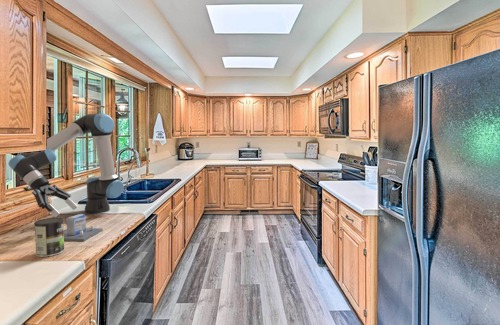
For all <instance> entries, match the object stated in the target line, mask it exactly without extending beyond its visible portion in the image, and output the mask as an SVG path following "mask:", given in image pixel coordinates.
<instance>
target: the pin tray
mask: <svg viewBox="0 0 500 325" xmlns="http://www.w3.org/2000/svg"><path fill="white" fill-rule="evenodd" d="M63 231H64V242H66V241H67V242H86V241H87V240H89V239H91V238H92V237H93V238H94V237H95V236H96V235H98V234H100V233H101V232H103V231H104V229H103V228H98V227H97V228H95V227H94V225H90V227H86V231H84V232H83V231H80V233H79V234H77V235H67V228H66V229H65V230H64V229H63Z"/></svg>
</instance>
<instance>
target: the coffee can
mask: <svg viewBox="0 0 500 325" xmlns="http://www.w3.org/2000/svg"><path fill="white" fill-rule="evenodd" d="M33 223H34V224H33V225H34V236H35V237H34V238H35V239H34V240H35V255H36V257H39V258H49V257H54V256H58V255H60V254H62V253H64V252H63V251H65V241H64V218H63V217H47V218H41V219H38V220H35V221H34V222H33ZM57 254H58V255H57ZM53 255H54V256H53ZM48 256H49V257H48Z"/></svg>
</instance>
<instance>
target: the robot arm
mask: <svg viewBox="0 0 500 325" xmlns="http://www.w3.org/2000/svg"><path fill="white" fill-rule="evenodd" d="M114 128H115V122H114V119H113V118H112V117H111V116H110V115H108V114H106V113H90V114H88V113H87V114H86V115H83V116H81V117H79V118H77V119H76V120H74V121H72V122H70V124H69V126H67V127H66V128H64V129H62V130H60V131H59V132H57V133H55V134H54V135H52V136H50V137H48V138H46V140H47V149H46V150H45V151H41V152H31V153H20V152H19V153H20V154H19V153H18V154H17V155H15V156H13V157H12V158H11V159H9V161H8V167H10V169H11V170H12V171H13V172H14V173H15V174H16V175H18V177H19V178H21V180H23V181H24V182H25V183H26V184H27V186H29V188H30V189H32V191H31V193H32V195H33V196H34V198H35V200H36V203H37V206H38V207H39V208H41V209H45V210H47V211H48V212H49V213H50V214H51V215H52V216H53V218H58V216H59V215H60V214H61V212H59V211H58V209H56V208H55V207H54V205H52V204H51V203H49V197H56V198H59V199H61V200H64V202H65V204H67V205H68V207H70V209H72V210H73V211H75V210H76V209H77V208H78V207H79V206H78V205H77V203H75V202H74V201H73V199H71V197H72V195H71V194H70V193H68V192H67V191H65V190H63V189H62V188H60V187H58V186H57V185H56V184H53V185H50V181H49V180H48V179H47V178H46V176H44V175H43V174H42V173H41V172H40V171H39V170H40V169H41V168H43V167H46V166H49V165H51V164H52V163H54V162H56V160H57V155H56V153H55V151H56V150H58V149H60V148H62V147H63V146H65V145H67V144H68V143H69V142H71V141H73V140H74V139H76V138H78V137H83V136H85V135H87V134H91V137H92V138H93V139H94V143H95V149H96V155H97V159H98V167H99V173H100V175H99V176H96V177H95V176H93V177H88V178H87V179H86V198H87V200H86V203H85V206H84V213H87V214H98V213H105V212H108V211H110V210H111V207H110V204H109V201H108V198H109V199H115V198H116V199H117V198H119V197H120V196H121V195H122V193H123V192H124V188H125V187H124V186H125V185H124V183H123V182H122V181H121V180H120V177H119V175H118V174H116V168H115V162H114V156H113V150H112V143H111V136H112V135H113V133H112V132H113V130H114Z"/></svg>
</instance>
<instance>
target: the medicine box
mask: <svg viewBox="0 0 500 325" xmlns="http://www.w3.org/2000/svg"><path fill="white" fill-rule="evenodd" d="M65 220H66V229H67V235H77V234H79V233H80V231H83V232H84V231H86V228H87V226H86V223H87V222H86V214H83V213H81V214H79V213H78V214H76V215H72V216H69V217H66V219H65Z"/></svg>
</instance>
